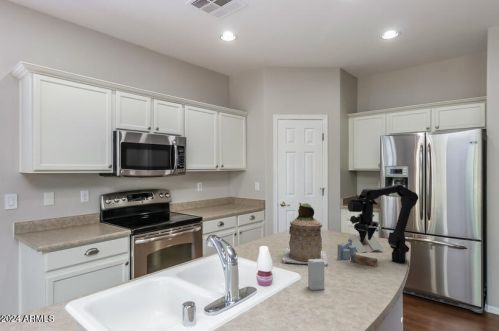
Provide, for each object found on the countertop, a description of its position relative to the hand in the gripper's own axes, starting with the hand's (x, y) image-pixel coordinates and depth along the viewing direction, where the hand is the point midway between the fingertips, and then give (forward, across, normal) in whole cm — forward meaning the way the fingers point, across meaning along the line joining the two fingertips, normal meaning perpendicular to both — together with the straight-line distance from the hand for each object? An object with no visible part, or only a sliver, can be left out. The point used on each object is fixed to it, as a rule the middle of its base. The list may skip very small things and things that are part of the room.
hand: (365, 241), depth 162 cm
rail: (+12, 0, 0) cm, 12 cm away
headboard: (+12, -5, -12) cm, 18 cm away
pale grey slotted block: (+12, -27, -10) cm, 31 cm away
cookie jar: (+14, +15, -28) cm, 35 cm away
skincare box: (+14, +47, -2) cm, 49 cm away
